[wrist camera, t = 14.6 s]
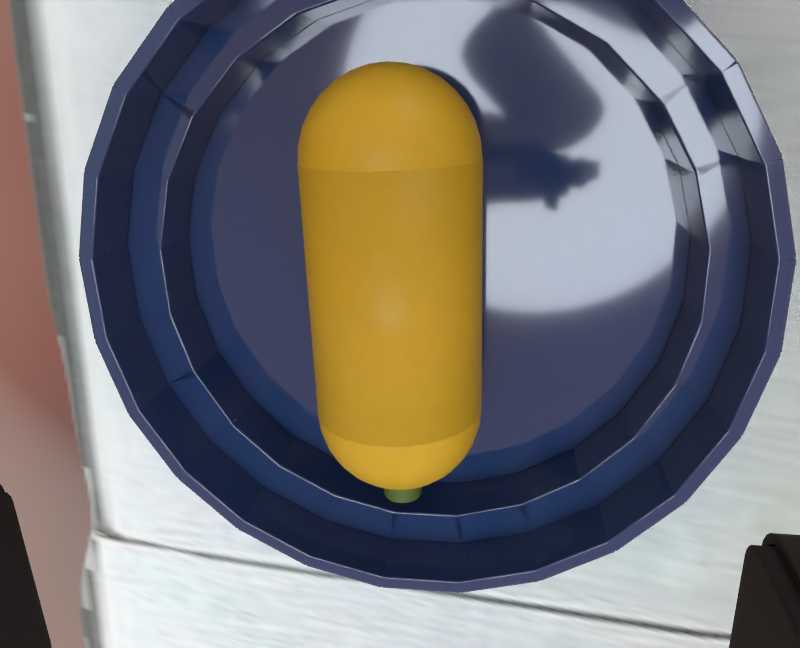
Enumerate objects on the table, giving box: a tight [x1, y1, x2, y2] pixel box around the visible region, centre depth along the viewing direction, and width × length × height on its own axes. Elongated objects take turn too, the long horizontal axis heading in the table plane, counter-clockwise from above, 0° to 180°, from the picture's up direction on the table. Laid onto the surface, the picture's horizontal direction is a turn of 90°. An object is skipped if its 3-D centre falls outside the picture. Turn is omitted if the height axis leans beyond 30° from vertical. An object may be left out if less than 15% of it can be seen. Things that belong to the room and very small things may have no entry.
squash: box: [297, 61, 483, 503], centre depth 23 cm, size 15×6×6 cm, turn 2°
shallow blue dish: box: [79, 0, 796, 593], centre depth 24 cm, size 22×22×5 cm
